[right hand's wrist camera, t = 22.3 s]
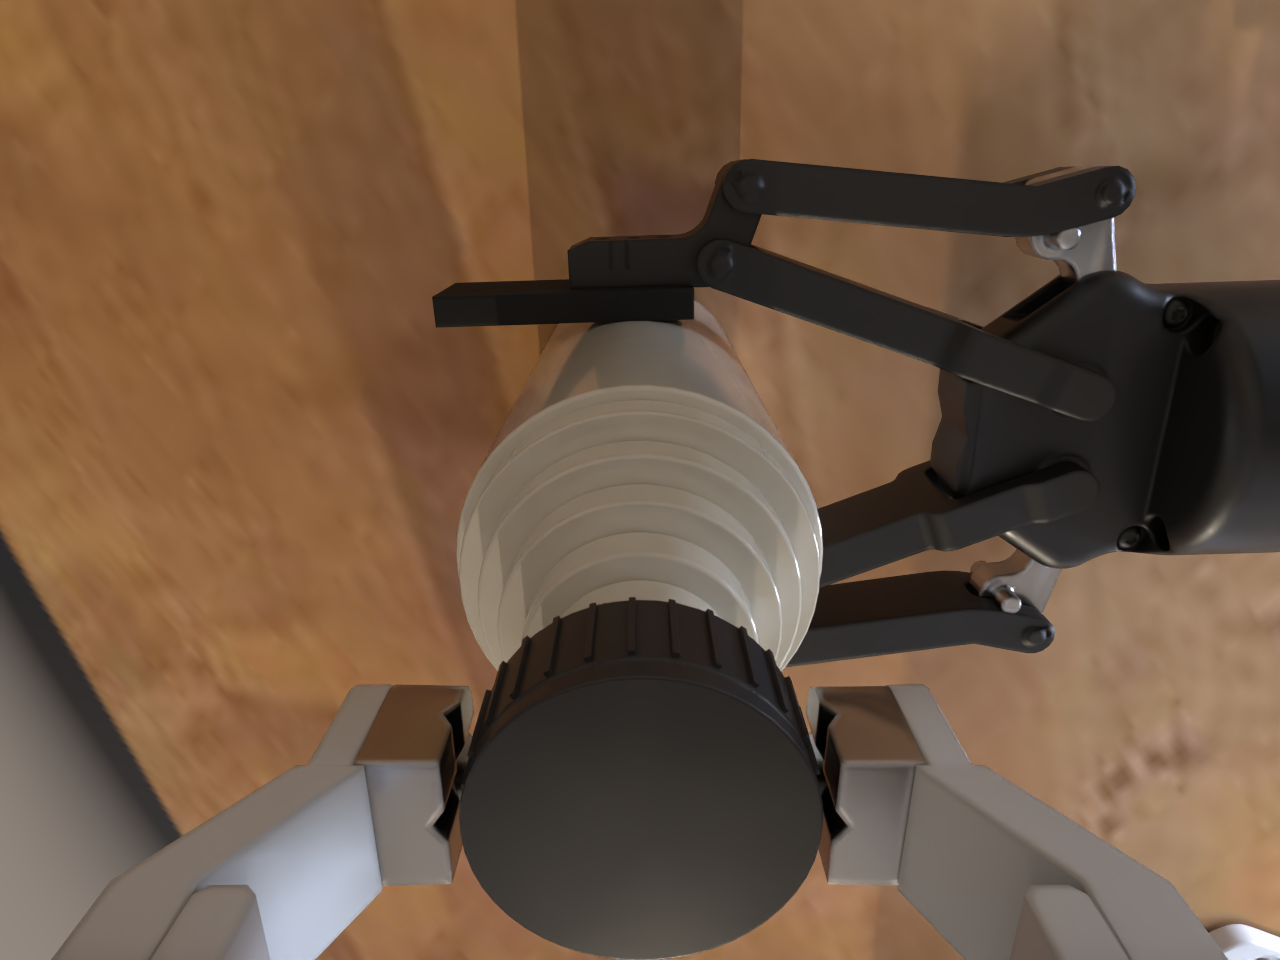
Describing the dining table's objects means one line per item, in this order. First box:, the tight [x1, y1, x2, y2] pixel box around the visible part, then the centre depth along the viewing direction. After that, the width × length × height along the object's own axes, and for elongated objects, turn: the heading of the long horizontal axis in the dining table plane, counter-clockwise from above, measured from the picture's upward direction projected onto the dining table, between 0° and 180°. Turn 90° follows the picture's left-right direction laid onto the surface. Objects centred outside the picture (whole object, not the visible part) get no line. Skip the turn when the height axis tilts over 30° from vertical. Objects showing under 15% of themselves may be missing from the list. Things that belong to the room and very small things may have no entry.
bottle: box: [456, 300, 823, 671], centre depth 19 cm, size 7×7×20 cm
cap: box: [459, 597, 823, 960], centre depth 10 cm, size 4×4×2 cm
